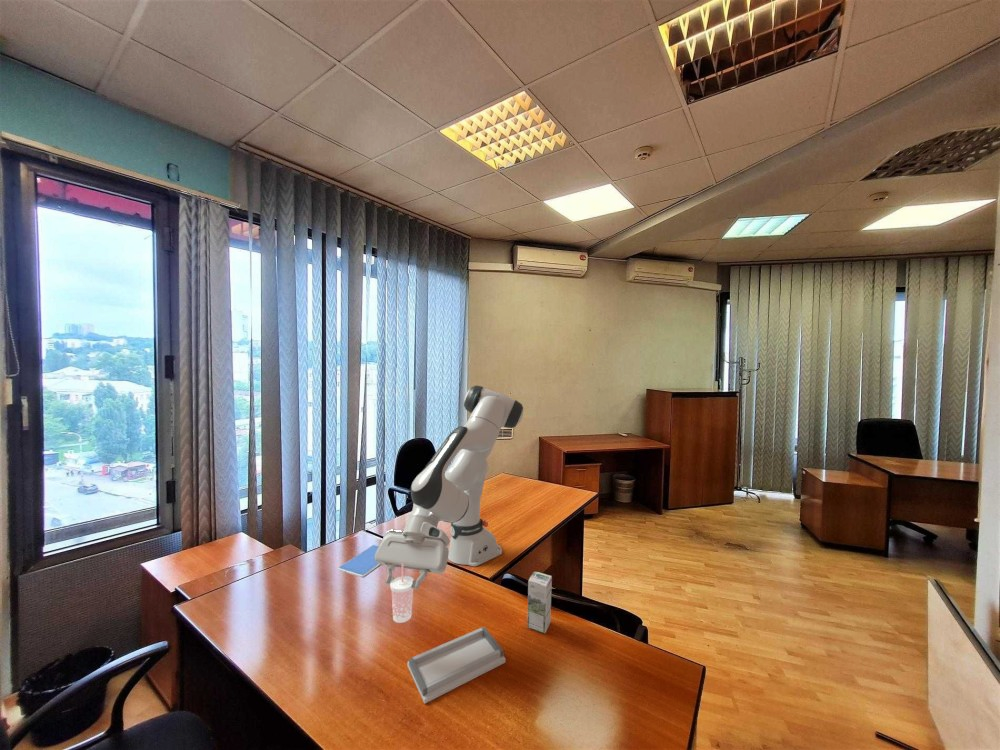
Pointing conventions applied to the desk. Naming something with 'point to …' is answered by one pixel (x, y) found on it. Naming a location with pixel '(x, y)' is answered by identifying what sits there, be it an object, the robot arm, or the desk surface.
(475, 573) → the desk surface
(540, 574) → the syrup box
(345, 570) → the tablet computer
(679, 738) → the desk surface
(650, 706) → the desk surface
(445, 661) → the rectangular tray
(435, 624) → the desk surface
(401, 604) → the beverage cup
